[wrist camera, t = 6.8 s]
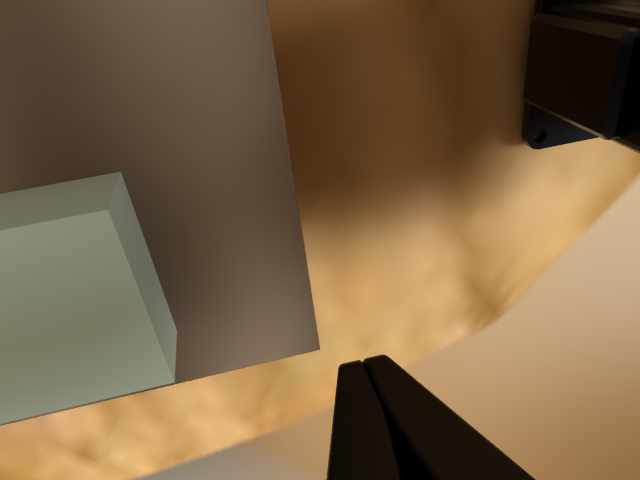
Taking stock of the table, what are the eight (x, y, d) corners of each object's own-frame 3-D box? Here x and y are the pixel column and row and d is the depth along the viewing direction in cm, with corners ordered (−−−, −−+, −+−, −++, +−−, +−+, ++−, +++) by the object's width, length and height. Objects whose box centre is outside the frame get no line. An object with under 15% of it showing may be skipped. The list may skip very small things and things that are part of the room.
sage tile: (121, 171, 12) (107, 209, 10) (177, 331, 14) (174, 382, 13) (-109, 213, 11) (-164, 261, 9) (-6, 372, 14) (-35, 432, 12)
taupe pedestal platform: (173, -459, 10) (161, -677, 6) (298, 278, 19) (320, 349, 16) (-414, -440, 9) (-814, -693, 5) (28, 338, 18) (-11, 428, 15)
